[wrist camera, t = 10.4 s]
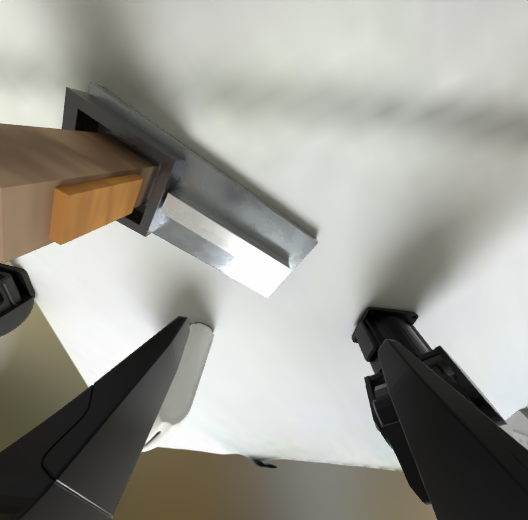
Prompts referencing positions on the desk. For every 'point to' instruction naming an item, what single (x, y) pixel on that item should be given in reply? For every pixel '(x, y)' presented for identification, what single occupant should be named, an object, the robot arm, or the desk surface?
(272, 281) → the rail
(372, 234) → the desk surface
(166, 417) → the photo printer
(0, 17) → the desk surface
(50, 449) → the robot arm
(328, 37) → the desk surface
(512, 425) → the portable television
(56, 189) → the brown tall block
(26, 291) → the end cap
